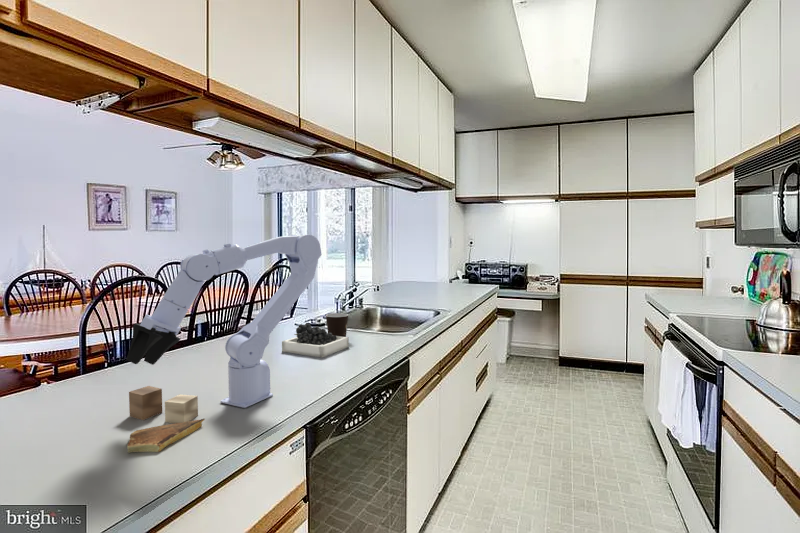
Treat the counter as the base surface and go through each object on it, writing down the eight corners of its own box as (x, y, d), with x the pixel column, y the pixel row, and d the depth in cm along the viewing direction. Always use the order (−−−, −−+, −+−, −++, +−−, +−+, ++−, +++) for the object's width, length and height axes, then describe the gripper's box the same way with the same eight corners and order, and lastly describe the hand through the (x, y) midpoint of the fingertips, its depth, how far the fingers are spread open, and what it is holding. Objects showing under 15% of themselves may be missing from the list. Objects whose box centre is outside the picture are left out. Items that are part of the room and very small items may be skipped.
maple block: (179, 414, 96) (179, 394, 96) (198, 415, 96) (197, 395, 95) (165, 422, 92) (164, 401, 92) (184, 424, 91) (183, 403, 91)
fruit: (336, 319, 158) (293, 320, 154) (339, 330, 151) (295, 332, 146) (334, 339, 161) (293, 341, 157) (338, 352, 154) (294, 354, 149)
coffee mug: (341, 344, 162) (341, 317, 161) (321, 342, 165) (321, 316, 165) (355, 337, 173) (355, 312, 172) (336, 336, 176) (336, 311, 175)
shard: (205, 426, 91) (204, 416, 91) (207, 445, 83) (207, 434, 82) (131, 439, 85) (131, 428, 85) (126, 461, 77) (125, 449, 77)
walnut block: (149, 409, 99) (148, 385, 99) (162, 413, 97) (161, 388, 97) (129, 416, 95) (128, 391, 95) (142, 420, 93) (142, 395, 93)
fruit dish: (310, 342, 165) (310, 332, 165) (348, 347, 158) (348, 337, 157) (282, 351, 151) (281, 341, 151) (322, 357, 143) (322, 346, 143)
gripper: (172, 301, 101) (139, 355, 98) (143, 290, 87) (104, 352, 84) (199, 314, 101) (167, 368, 98) (175, 304, 87) (137, 368, 84)
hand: (140, 362), depth 91 cm, fingers open, 7 cm apart
